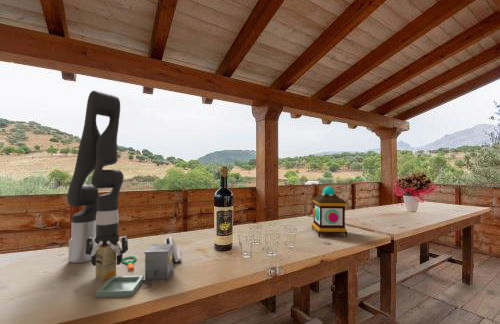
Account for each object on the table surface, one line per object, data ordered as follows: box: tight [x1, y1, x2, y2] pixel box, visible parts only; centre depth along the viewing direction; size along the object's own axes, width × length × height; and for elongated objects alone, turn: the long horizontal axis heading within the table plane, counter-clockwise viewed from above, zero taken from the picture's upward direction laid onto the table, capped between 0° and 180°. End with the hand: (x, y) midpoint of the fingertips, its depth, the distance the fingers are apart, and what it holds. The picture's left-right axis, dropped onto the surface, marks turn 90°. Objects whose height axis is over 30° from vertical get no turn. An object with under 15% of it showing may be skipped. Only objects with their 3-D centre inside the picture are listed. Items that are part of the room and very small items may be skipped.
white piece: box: [163, 236, 183, 265], centre depth 112 cm, size 17×5×10 cm, turn 19°
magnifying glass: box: [120, 255, 137, 272], centre depth 104 cm, size 15×6×2 cm, turn 31°
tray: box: [95, 274, 145, 299], centre depth 83 cm, size 11×11×2 cm
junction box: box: [142, 243, 175, 283], centre depth 93 cm, size 9×10×11 cm
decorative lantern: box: [311, 185, 348, 238], centre depth 154 cm, size 20×20×30 cm
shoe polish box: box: [95, 244, 117, 281], centre depth 92 cm, size 5×5×12 cm
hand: (107, 264), depth 92 cm, fingers open, 8 cm apart
